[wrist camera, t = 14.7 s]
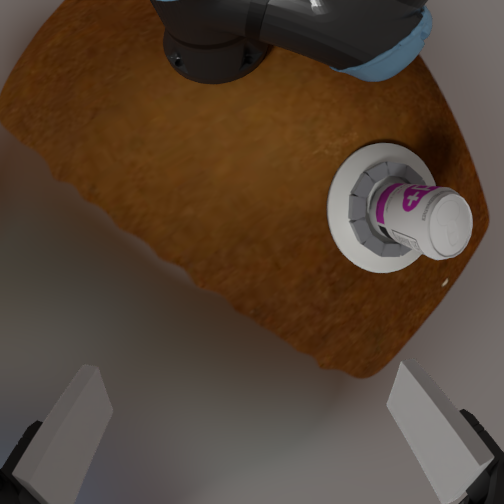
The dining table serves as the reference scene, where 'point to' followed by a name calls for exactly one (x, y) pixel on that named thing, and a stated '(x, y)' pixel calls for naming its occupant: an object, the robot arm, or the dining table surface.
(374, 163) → the round tray
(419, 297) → the dining table surface
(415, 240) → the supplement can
